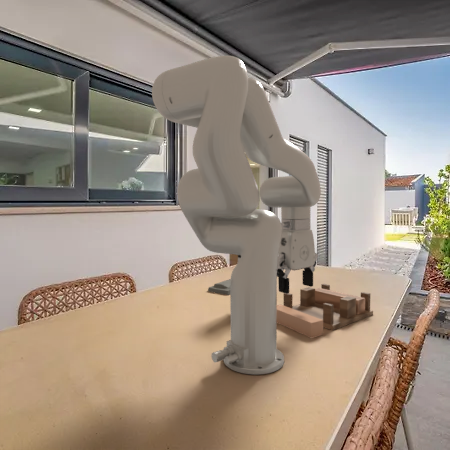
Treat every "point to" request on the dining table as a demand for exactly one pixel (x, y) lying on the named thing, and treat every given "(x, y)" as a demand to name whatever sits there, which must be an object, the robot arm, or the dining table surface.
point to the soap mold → (221, 287)
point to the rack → (331, 306)
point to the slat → (299, 321)
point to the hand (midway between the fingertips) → (296, 288)
